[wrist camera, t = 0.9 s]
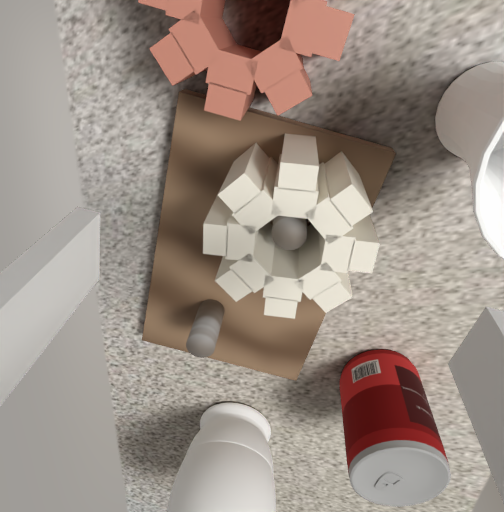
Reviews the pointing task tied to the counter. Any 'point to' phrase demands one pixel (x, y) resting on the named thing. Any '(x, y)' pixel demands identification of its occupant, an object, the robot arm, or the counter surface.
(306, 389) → the counter surface
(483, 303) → the counter surface
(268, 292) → the gear
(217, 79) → the gear
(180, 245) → the gear board
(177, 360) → the counter surface
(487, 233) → the cup
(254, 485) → the jar
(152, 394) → the counter surface
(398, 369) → the canned food
